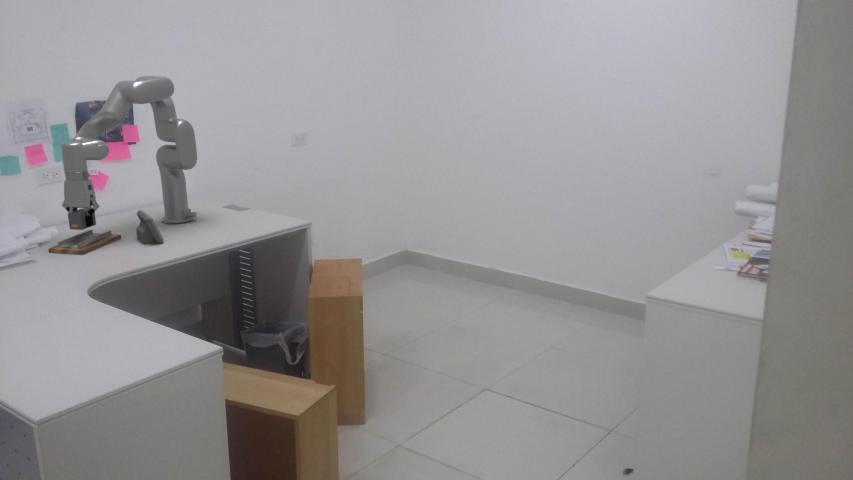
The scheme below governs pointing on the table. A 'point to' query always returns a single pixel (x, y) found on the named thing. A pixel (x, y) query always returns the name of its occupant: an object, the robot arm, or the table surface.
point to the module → (79, 219)
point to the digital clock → (148, 229)
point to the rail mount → (84, 242)
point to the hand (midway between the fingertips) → (83, 224)
